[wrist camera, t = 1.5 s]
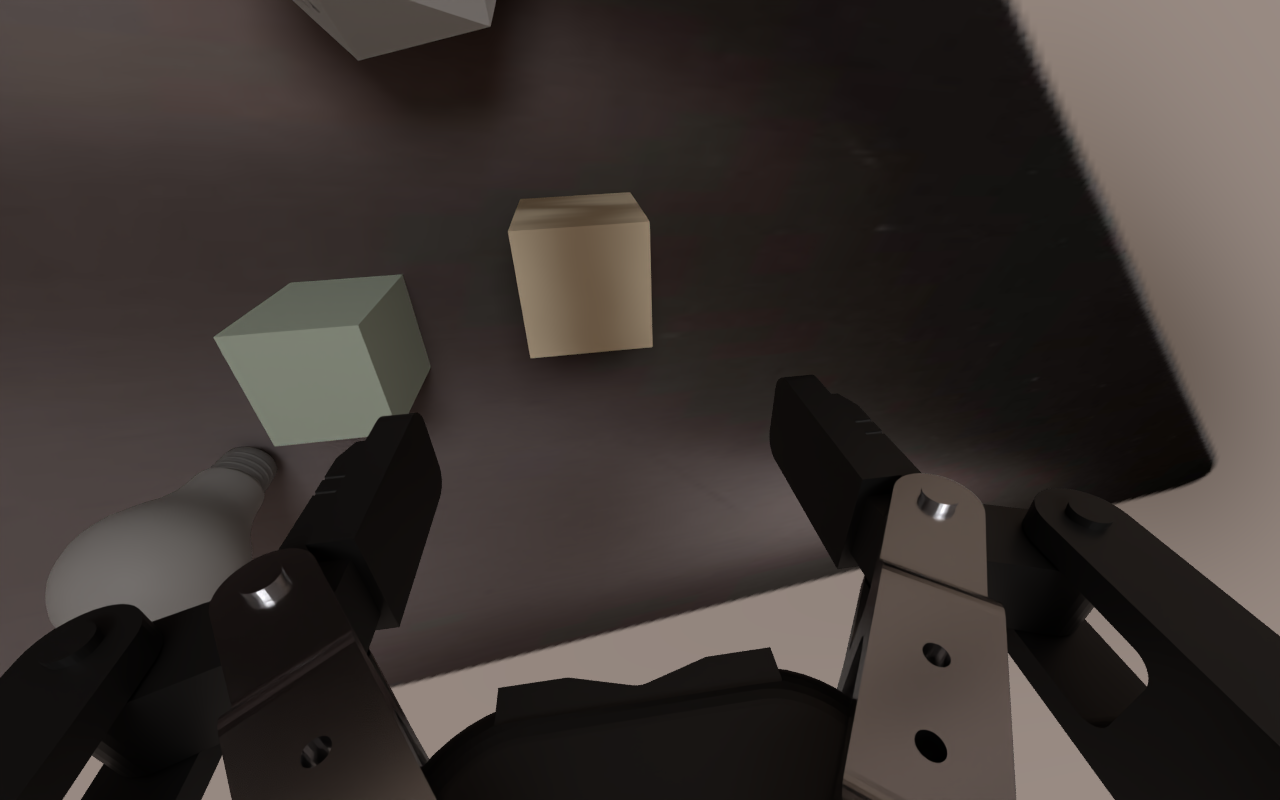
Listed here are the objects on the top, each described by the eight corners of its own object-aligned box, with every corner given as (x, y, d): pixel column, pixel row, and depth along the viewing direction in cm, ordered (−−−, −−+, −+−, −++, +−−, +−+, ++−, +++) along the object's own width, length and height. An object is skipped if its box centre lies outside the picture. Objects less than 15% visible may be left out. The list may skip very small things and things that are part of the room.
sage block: (331, 375, 25) (274, 446, 20) (291, 282, 22) (213, 337, 17) (430, 366, 26) (398, 433, 21) (402, 274, 23) (358, 325, 18)
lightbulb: (256, 392, 25) (78, 566, 16) (344, 469, 28) (239, 651, 19) (164, 440, 26) (-56, 634, 17) (260, 510, 29) (120, 704, 20)
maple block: (536, 303, 25) (530, 358, 20) (520, 198, 22) (508, 231, 17) (634, 295, 25) (652, 346, 20) (630, 192, 22) (649, 221, 17)
